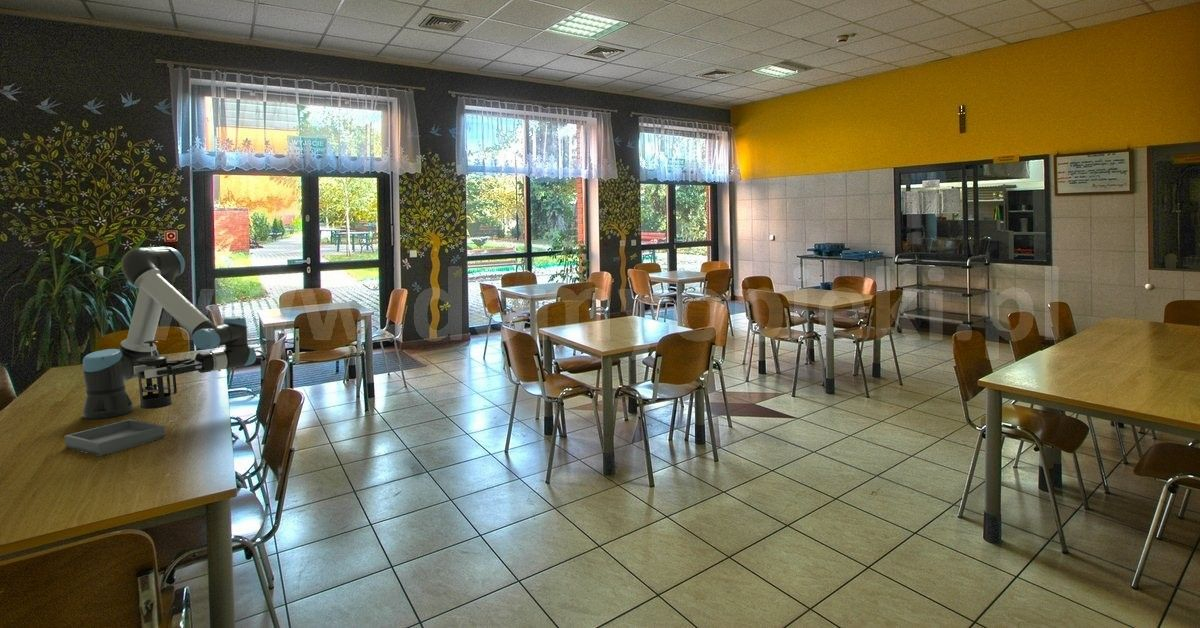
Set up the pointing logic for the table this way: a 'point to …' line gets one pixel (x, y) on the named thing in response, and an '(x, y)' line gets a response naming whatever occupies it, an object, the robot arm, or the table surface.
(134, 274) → the robot arm
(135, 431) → the tray
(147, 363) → the french press
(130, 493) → the table surface
